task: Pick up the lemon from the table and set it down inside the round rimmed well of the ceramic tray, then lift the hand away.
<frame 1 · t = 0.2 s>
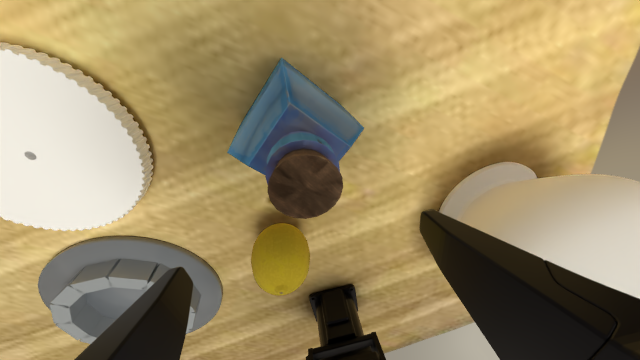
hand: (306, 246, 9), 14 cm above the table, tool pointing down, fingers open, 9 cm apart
plastic lid: (61, 141, 19), on the table
decorative vase: (483, 205, 29), on the table
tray: (142, 292, 28), on the table
perfume bottle: (292, 113, 20), on the table
lemon: (280, 226, 26), on the table
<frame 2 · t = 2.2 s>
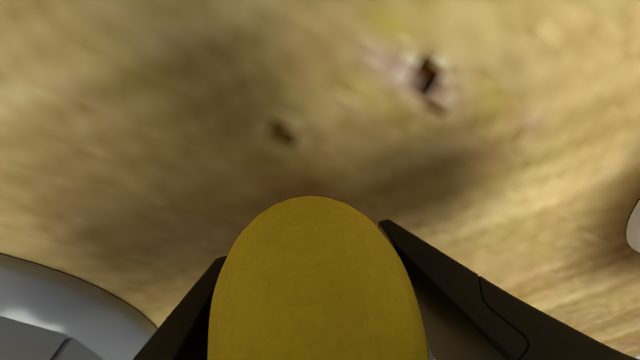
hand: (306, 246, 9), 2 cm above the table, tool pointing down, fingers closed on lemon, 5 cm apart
lemon: (302, 212, 10), on the table, touching gripper
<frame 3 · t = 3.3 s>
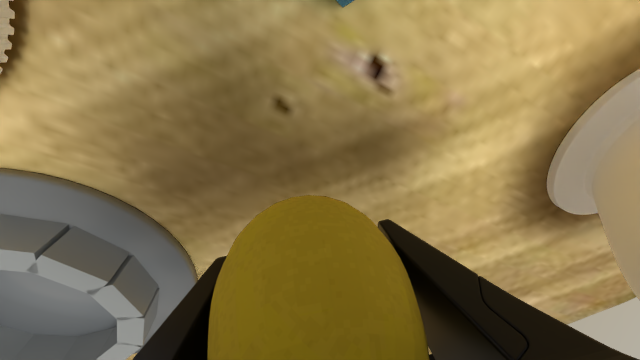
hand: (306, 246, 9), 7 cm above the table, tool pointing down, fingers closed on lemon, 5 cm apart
decorative vase: (623, 143, 18), on the table
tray: (58, 283, 16), on the table
lemon: (301, 212, 10), point 5 cm above the table, touching gripper
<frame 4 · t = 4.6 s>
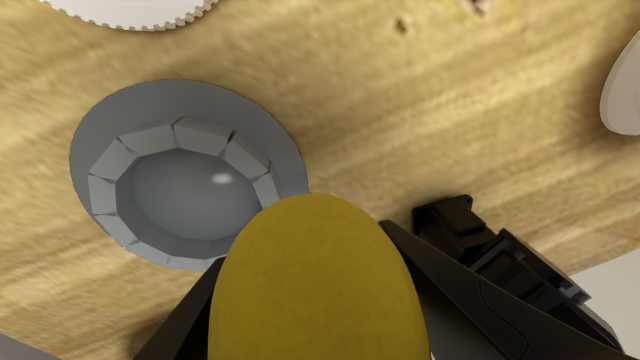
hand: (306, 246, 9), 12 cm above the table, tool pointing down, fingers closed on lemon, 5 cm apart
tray: (204, 190, 20), on the table
lemon: (302, 210, 10), point 10 cm above the table, touching gripper
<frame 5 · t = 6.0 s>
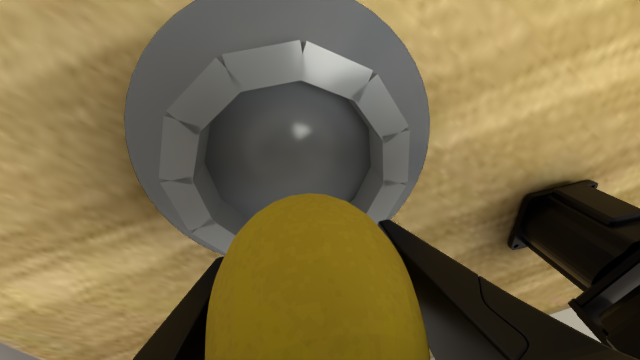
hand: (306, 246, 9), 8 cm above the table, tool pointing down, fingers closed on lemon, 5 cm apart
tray: (292, 159, 15), on the table
lemon: (301, 210, 10), point 6 cm above the table, touching gripper
when the fingers open (4 cm above the table, at t = 7.1 s): lemon drops 1 cm, resting on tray.
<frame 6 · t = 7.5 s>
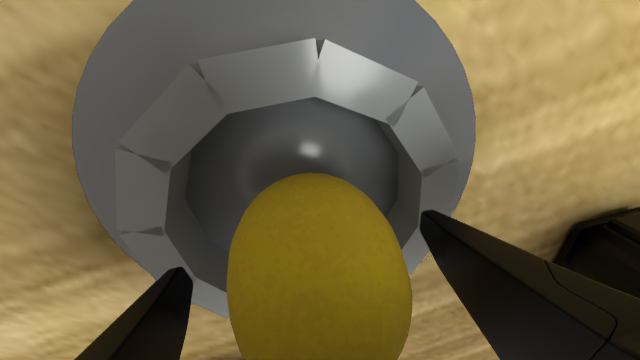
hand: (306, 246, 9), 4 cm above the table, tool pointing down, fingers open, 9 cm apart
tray: (298, 189, 12), on the table
lemon: (300, 194, 12), point 1 cm above the table, touching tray
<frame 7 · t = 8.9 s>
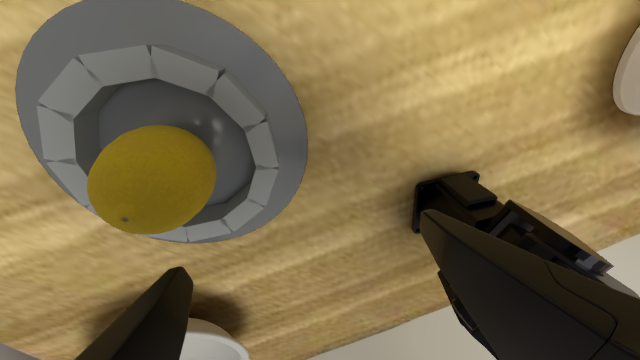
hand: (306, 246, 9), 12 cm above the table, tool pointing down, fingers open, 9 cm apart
dish: (178, 323, 28), on the table
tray: (187, 147, 18), on the table
lemon: (185, 148, 17), point 1 cm above the table, touching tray
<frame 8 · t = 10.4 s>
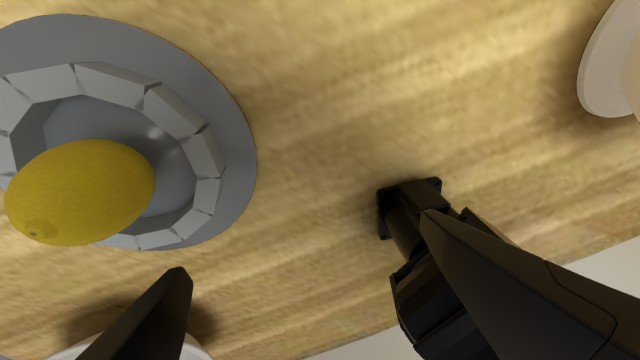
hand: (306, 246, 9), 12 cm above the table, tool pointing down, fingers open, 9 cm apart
dish: (150, 328, 28), on the table
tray: (136, 157, 18), on the table
lemon: (133, 159, 17), point 1 cm above the table, touching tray
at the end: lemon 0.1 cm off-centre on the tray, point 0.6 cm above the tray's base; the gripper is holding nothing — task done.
